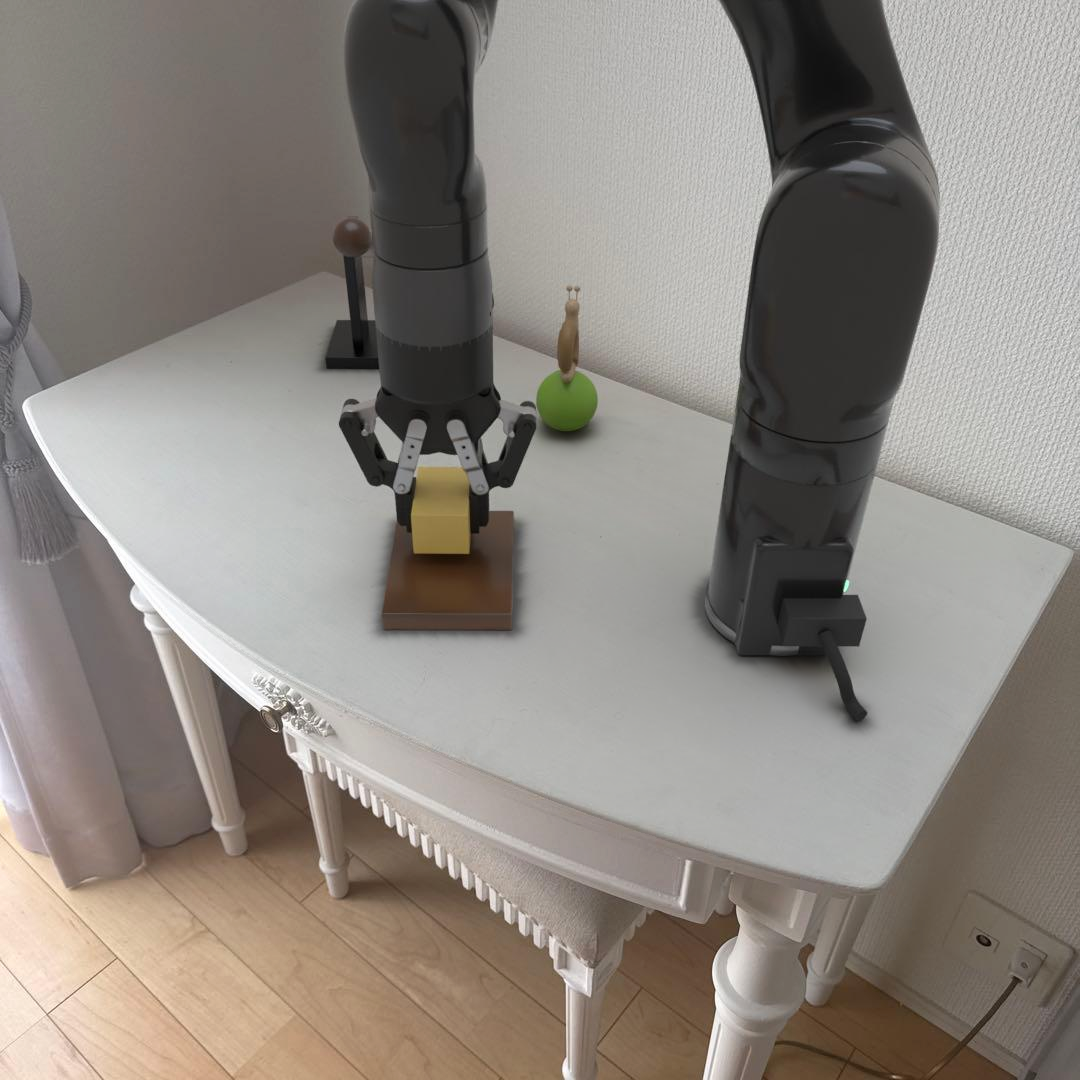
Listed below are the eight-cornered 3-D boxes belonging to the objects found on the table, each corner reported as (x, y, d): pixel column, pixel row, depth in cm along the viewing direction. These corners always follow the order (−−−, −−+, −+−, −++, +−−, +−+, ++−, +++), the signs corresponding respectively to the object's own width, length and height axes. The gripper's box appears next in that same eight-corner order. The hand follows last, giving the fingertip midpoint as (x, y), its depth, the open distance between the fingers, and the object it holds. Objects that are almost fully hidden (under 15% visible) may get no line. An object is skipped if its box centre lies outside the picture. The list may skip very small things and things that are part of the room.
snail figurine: (598, 407, 97) (605, 285, 89) (594, 444, 92) (601, 319, 84) (540, 403, 97) (542, 282, 90) (532, 440, 92) (534, 315, 85)
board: (512, 630, 73) (512, 614, 72) (382, 629, 73) (381, 613, 72) (513, 525, 82) (513, 510, 82) (399, 525, 82) (398, 509, 81)
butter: (469, 554, 75) (468, 515, 73) (413, 553, 75) (410, 514, 73) (472, 504, 80) (471, 466, 78) (420, 504, 80) (417, 466, 78)
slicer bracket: (429, 369, 102) (421, 242, 94) (326, 368, 102) (310, 242, 94) (434, 331, 108) (428, 209, 100) (338, 330, 108) (323, 208, 100)
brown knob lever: (369, 257, 85) (368, 216, 85) (330, 256, 85) (328, 215, 85) (392, 262, 100) (391, 227, 99) (358, 261, 100) (357, 226, 99)
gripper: (312, 340, 64) (341, 558, 74) (545, 343, 64) (540, 559, 75) (331, 287, 70) (354, 496, 80) (544, 290, 70) (539, 498, 81)
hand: (444, 525), depth 77 cm, fingers closed on butter, 4 cm apart
